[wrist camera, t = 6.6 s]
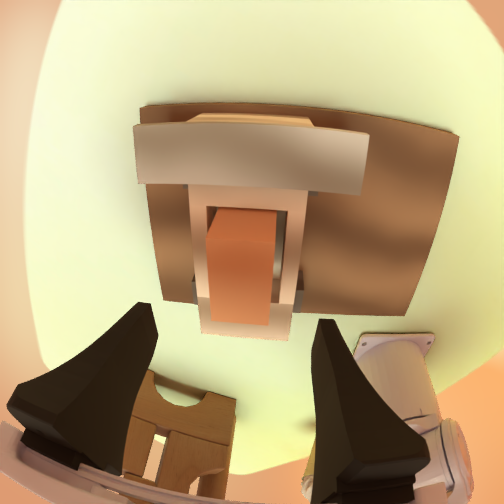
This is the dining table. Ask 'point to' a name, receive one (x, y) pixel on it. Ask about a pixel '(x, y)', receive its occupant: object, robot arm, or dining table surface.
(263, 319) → the orange upright block
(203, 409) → the wooden toy
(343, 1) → the dining table surface
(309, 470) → the ice cream cone
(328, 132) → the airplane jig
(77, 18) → the dining table surface
